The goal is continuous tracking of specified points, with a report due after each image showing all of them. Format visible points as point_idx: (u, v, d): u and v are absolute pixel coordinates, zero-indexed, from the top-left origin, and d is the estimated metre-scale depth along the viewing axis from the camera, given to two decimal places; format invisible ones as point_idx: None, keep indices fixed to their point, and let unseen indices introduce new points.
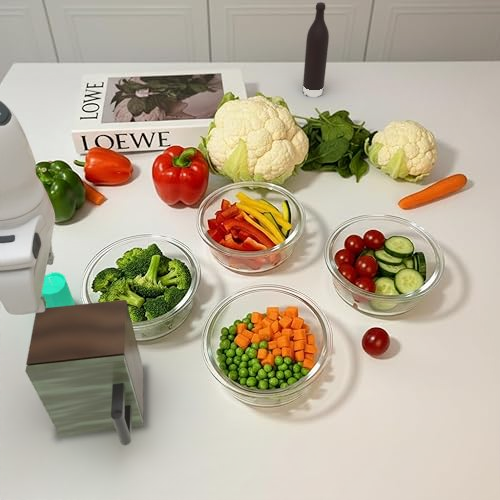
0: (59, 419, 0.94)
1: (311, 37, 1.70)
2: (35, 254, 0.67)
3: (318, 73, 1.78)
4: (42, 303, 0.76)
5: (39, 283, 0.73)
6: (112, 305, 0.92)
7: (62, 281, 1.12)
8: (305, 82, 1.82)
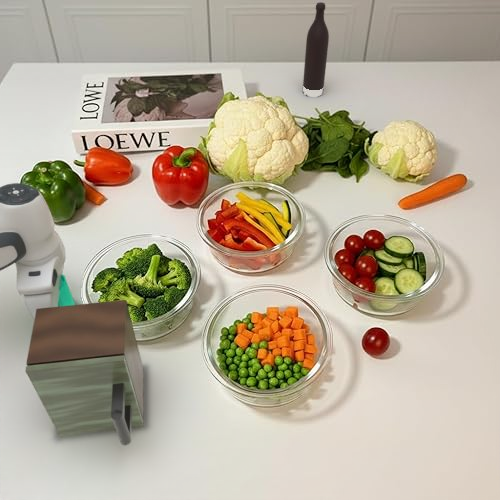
0: (59, 419, 0.94)
1: (311, 37, 1.70)
2: (54, 283, 1.01)
3: (318, 73, 1.78)
4: None
5: (55, 301, 1.07)
6: (112, 305, 0.92)
7: (62, 281, 1.12)
8: (305, 82, 1.82)
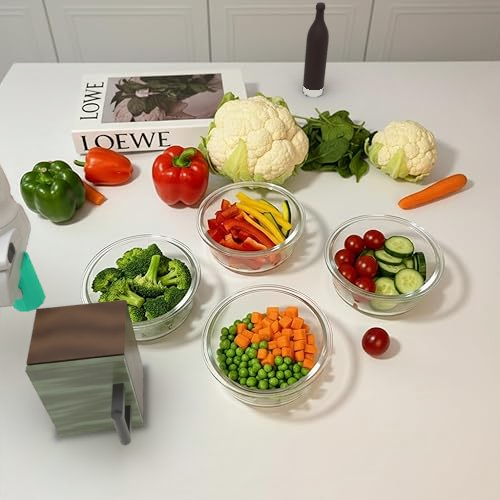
0: (59, 419, 0.94)
1: (311, 37, 1.70)
2: (10, 259, 0.85)
3: (318, 73, 1.78)
4: (20, 291, 0.95)
5: (15, 282, 0.90)
6: (112, 305, 0.92)
7: (25, 259, 0.96)
8: (305, 82, 1.82)
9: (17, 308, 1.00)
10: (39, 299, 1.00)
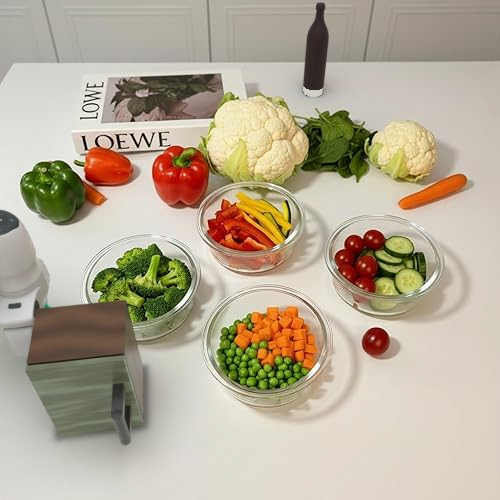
0: (59, 419, 0.94)
1: (311, 37, 1.70)
2: None
3: (318, 73, 1.78)
4: None
5: None
6: (112, 305, 0.92)
7: None
8: (305, 82, 1.82)
9: None
10: None
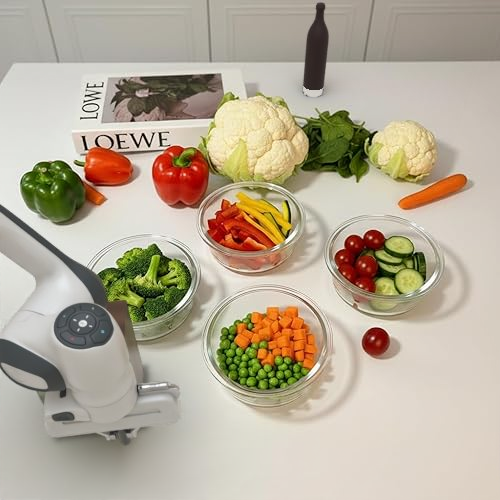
0: None
1: (311, 37, 1.70)
2: (54, 419, 0.76)
3: (318, 73, 1.78)
4: None
5: (75, 430, 0.82)
6: (112, 305, 0.92)
7: None
8: (305, 82, 1.82)
9: None
10: None
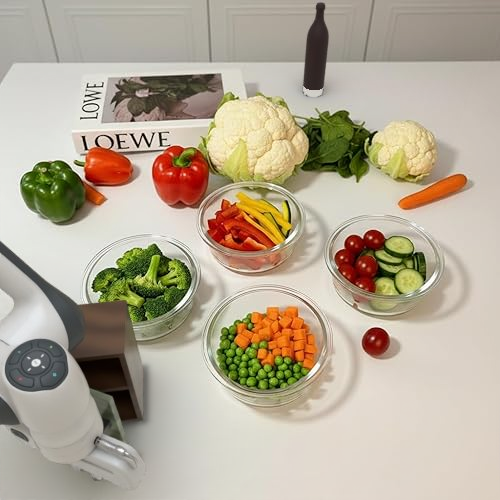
0: None
1: (311, 37, 1.70)
2: (12, 432, 0.75)
3: (318, 73, 1.78)
4: None
5: None
6: (112, 305, 0.92)
7: None
8: (305, 82, 1.82)
9: None
10: None
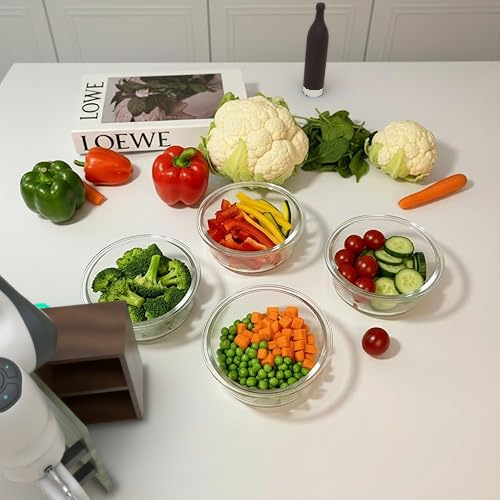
0: None
1: (311, 37, 1.70)
2: None
3: (318, 73, 1.78)
4: None
5: None
6: (112, 305, 0.92)
7: None
8: (305, 82, 1.82)
9: None
10: None
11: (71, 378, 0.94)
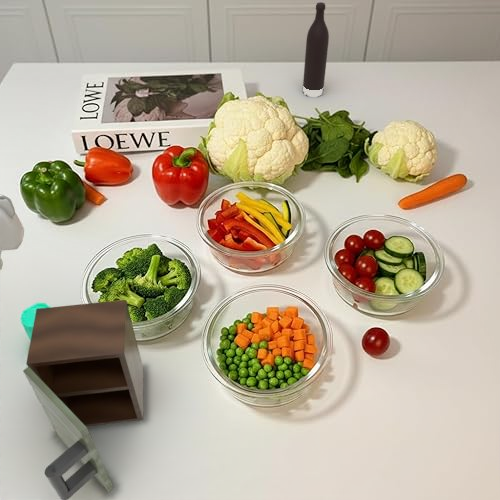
0: (53, 424, 0.94)
1: (311, 37, 1.70)
2: None
3: (318, 73, 1.78)
4: None
5: None
6: (112, 305, 0.92)
7: None
8: (305, 82, 1.82)
9: None
10: None
11: (71, 378, 0.94)
